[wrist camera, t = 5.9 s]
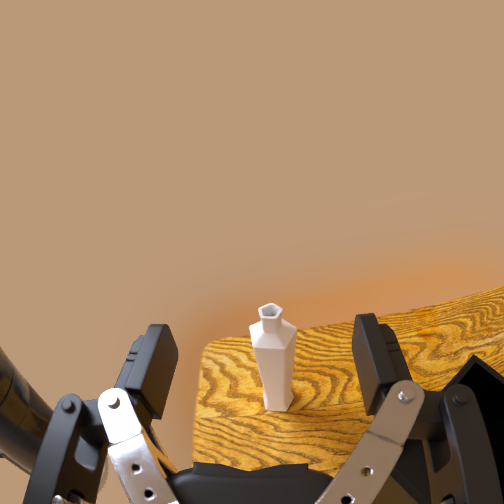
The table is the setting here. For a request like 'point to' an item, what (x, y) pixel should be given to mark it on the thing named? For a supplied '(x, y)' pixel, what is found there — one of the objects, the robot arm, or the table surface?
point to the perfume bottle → (274, 356)
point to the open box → (413, 457)
